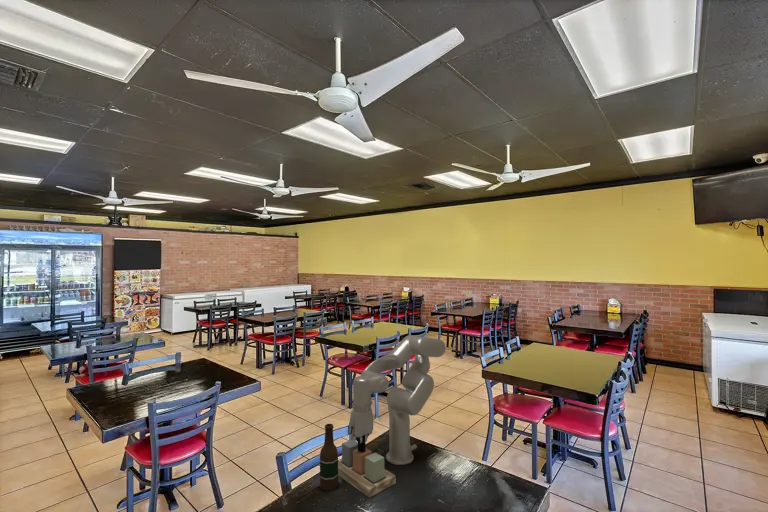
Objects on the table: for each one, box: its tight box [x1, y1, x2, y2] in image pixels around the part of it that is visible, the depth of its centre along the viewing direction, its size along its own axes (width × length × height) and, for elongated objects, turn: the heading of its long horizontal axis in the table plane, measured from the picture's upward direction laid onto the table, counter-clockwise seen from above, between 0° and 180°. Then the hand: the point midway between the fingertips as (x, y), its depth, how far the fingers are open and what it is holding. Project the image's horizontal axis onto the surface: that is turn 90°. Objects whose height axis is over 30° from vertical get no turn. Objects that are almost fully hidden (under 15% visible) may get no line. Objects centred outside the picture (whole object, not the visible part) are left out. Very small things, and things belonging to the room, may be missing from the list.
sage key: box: [365, 452, 385, 484], centre depth 146 cm, size 6×6×8 cm
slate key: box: [341, 439, 358, 468], centre depth 158 cm, size 6×6×8 cm
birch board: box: [338, 458, 397, 498], centre depth 152 cm, size 14×26×3 cm, turn 42°
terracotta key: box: [352, 447, 373, 476], centre depth 152 cm, size 6×6×8 cm
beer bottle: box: [319, 423, 339, 492], centre depth 146 cm, size 8×8×24 cm
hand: (361, 451), depth 152 cm, fingers closed
